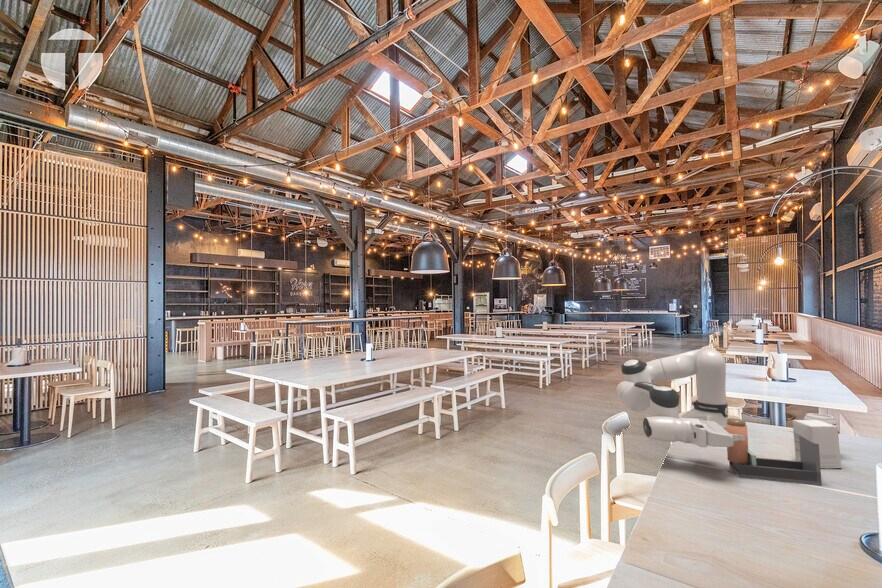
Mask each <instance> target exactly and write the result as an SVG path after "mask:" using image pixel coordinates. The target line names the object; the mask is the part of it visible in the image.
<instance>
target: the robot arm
mask: <svg viewBox="0 0 882 588" xmlns="http://www.w3.org/2000/svg"><path fill="white" fill-rule="evenodd" d="M620 370H621V373H622V375H623V379H624V380H623V381H620V382H619V383H618V384H617V385H616V388H615V394H616V395H617V397H618V399H619V400H620V402H621V403H622V404H623V405H624V406H625V407H627V408H628V409H629V410H631V411H633V412H643V411H646V410H648V409H650V414H649V416H646V417H644V418H643V421H642V427H643V431H644V434H645V436H646V437H647V438H648V439H651V440H656V441H661V442H669V443H675V442H676V443H677V442H680V443H684V444H692V445H696V446H697V447H700V448H707V447H718V448H727V447H732V446H734V441H738V440H741V441H744V440H745V436H744V435H742V434H730V433H729V432H727V431H726V423H727V419H729V418H728V417H729V407H728V403H727V394H726V393H727V390H726V382H727V381H726V380H727V377H726V376H727V375H726V374H727V367H726V358H725V356H724V355H723V354H722V353H721V352H719V351H717V349H715V348H712V347H702V348H698V349H694V350H690V351H689V350H688V351H687V352H683V353H679V354H675V355H670V356H666V357H660V358H656V359H653V360H649V361H647V362H645V361H642V360H639V359H634V358H633V359H628V360H626V361H624V362H623V363H622V364H621V369H620ZM695 375H696V393H697V394H696V395H697V396H696V397H697V399H696V400H695V401H693V402H692V403H691V405H692V406H693V408H692V409H690V410H689V411H686V412H685V413H683V414H682V415H681V417H680V416H679V413H680V412H679V406H680V394H679V393H678V392H677V391H676V390H675V389H674V388H673V387H669V386H664V385H658V384H654V383H661V382H668V381H673V380H674V381H675V380H678V379H679V380H680V379H683V378H688V377H691V376H695Z"/></svg>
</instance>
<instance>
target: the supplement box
mask: <svg viewBox="0 0 882 588" xmlns="http://www.w3.org/2000/svg"><path fill="white" fill-rule="evenodd" d="M792 430H793V442H794V457H795V458H794V459H795V461H801V457H800V442H799V435H803V436H805V437H807V438H809V439H810V440H812V441H814V442H816V443H818V444H819V455H820V468H841V469H842V462H841V449H840V439H839V426H838V425H836V426H835V425H831V424H828V423H825V422H822V421H819V420H804V419H792Z"/></svg>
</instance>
